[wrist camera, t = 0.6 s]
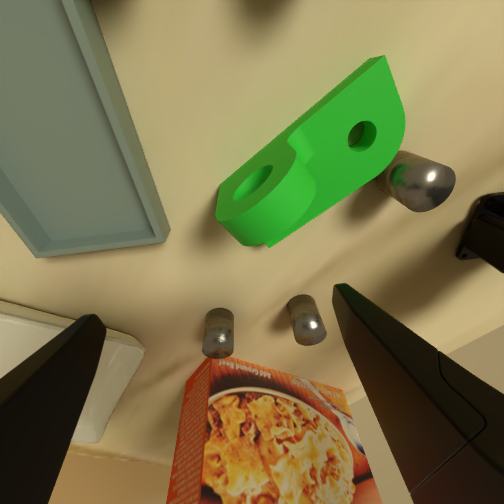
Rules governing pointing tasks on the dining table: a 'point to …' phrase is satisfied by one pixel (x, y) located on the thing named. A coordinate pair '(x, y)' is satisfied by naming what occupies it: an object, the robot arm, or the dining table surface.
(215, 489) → the pasta box
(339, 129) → the mechanical part
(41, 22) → the parts tray
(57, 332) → the square plate
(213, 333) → the spacer posts
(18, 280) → the dining table surface
